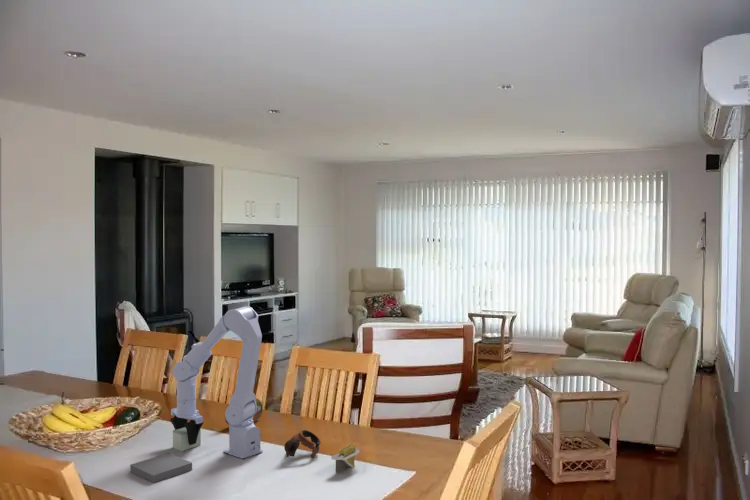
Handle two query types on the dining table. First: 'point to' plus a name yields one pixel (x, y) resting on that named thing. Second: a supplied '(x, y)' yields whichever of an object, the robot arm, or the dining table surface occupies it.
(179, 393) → the robot arm
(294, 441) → the brown curved band
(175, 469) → the stand
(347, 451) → the platform
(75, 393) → the dining table surface
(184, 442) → the block
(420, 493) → the dining table surface
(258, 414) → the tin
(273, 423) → the dining table surface
